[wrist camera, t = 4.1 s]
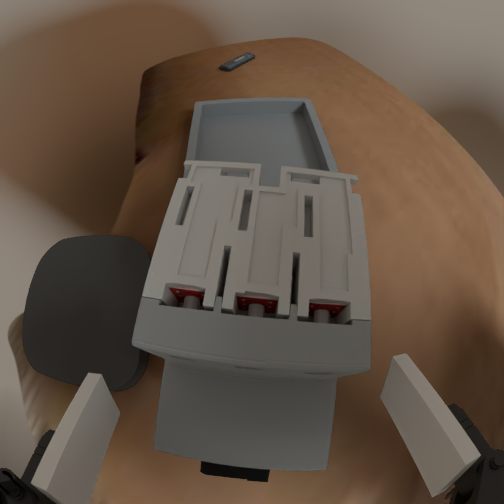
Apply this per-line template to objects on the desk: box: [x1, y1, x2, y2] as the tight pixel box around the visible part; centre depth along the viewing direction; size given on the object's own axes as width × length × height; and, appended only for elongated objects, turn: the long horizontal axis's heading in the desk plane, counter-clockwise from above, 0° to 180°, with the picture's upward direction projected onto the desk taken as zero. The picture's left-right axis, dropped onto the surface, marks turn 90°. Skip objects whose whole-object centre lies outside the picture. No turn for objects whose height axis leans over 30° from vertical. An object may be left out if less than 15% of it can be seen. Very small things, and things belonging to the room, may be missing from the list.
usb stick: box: [220, 53, 255, 72], centre depth 46 cm, size 10×3×2 cm, turn 146°
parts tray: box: [183, 98, 339, 187], centre depth 30 cm, size 22×16×3 cm
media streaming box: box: [22, 236, 152, 391], centre depth 22 cm, size 15×15×3 cm
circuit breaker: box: [132, 160, 371, 482], centre depth 15 cm, size 8×14×15 cm, turn 173°
